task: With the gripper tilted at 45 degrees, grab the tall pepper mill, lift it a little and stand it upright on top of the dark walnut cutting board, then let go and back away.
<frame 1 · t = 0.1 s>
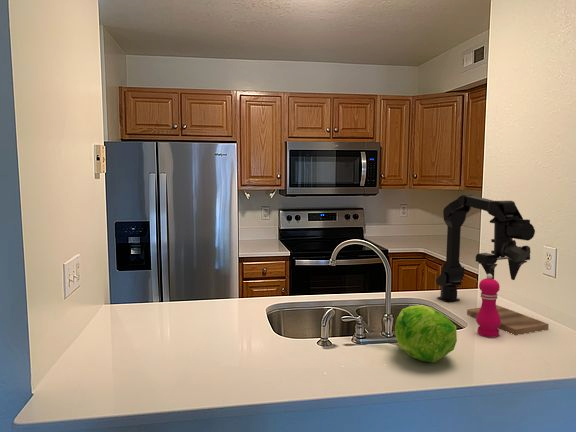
hand: (502, 281, 147), 15 cm above the counter, fingers open, 9 cm apart
pepper mill: (488, 334, 138), on the counter
walnut board: (505, 323, 148), on the counter
lettuce: (422, 356, 122), on the counter
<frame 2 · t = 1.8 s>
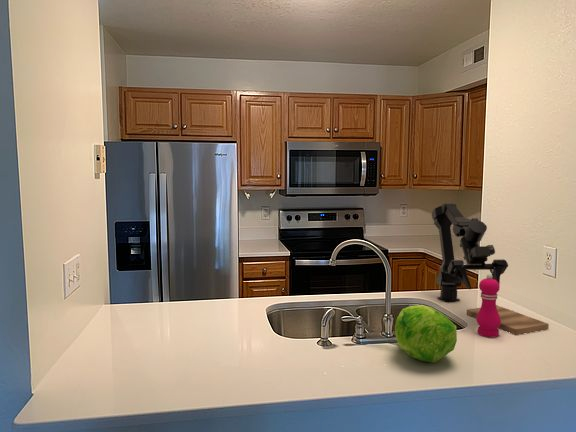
hand: (484, 288, 140), 14 cm above the counter, fingers open, 9 cm apart
nothing on the counter moved.
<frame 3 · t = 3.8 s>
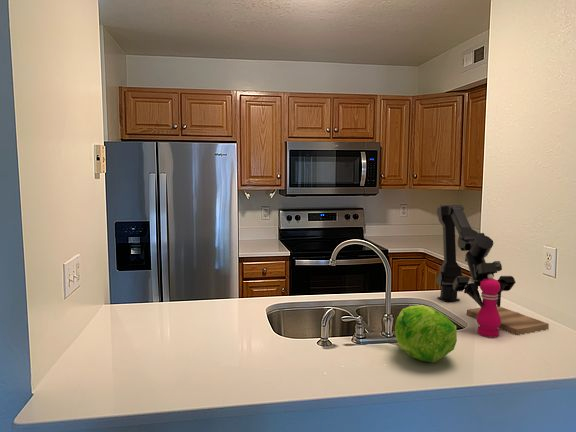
hand: (490, 306, 135), 10 cm above the counter, fingers closed on pepper mill, 5 cm apart
pepper mill: (488, 334, 138), on the counter, touching gripper
everything else where it was.
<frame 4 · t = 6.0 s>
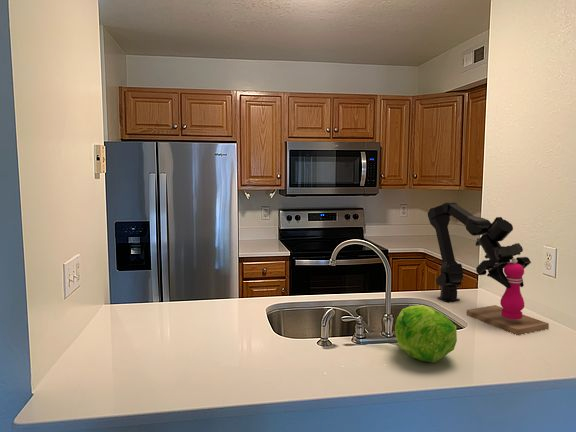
hand: (516, 287, 141), 14 cm above the counter, fingers closed on pepper mill, 5 cm apart
pepper mill: (511, 316, 143), point 3 cm above the counter, touching gripper
everything else where it was.
when the fingers open (13 cm above the counter, at t = 7.2 s): pepper mill stays where it is, resting on walnut board.
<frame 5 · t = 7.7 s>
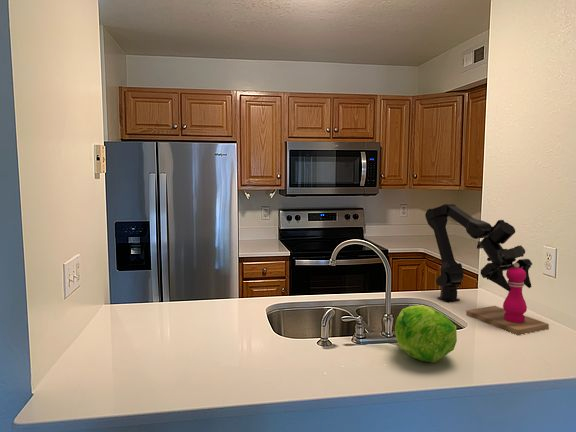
hand: (520, 289, 142), 13 cm above the counter, fingers open, 9 cm apart
pepper mill: (514, 320, 145), point 2 cm above the counter, touching walnut board
walnut board: (505, 323, 149), on the counter, touching pepper mill
everything else where it was.
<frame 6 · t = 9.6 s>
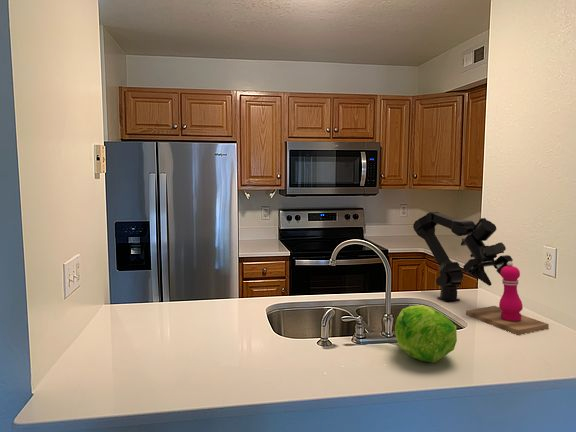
hand: (500, 283, 150), 13 cm above the counter, fingers open, 9 cm apart
pepper mill: (511, 318, 146), point 2 cm above the counter, touching walnut board
everything else where it was.
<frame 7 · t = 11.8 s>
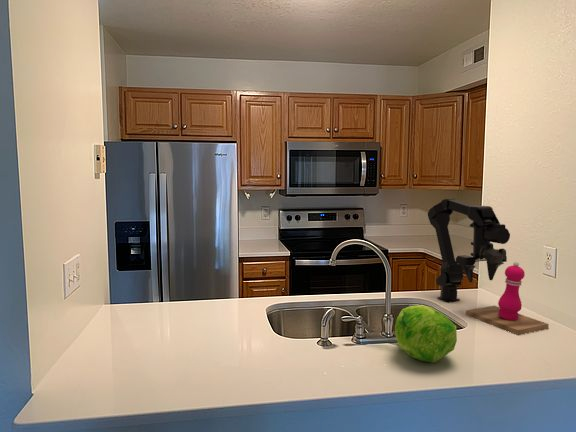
hand: (480, 281, 157), 12 cm above the counter, fingers open, 9 cm apart
pepper mill: (507, 317, 147), point 2 cm above the counter
walnut board: (505, 323, 149), on the counter
everything else where it was.
at the end: pepper mill inside the target area on the walnut board (0.2 cm from its centre), point 2.6 cm above the walnut board's base; pepper mill tilted 6°; the gripper is holding nothing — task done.
